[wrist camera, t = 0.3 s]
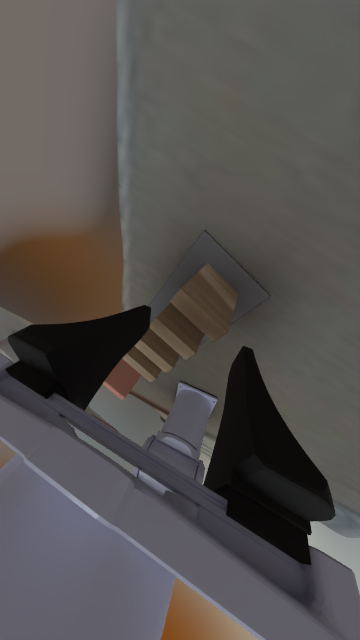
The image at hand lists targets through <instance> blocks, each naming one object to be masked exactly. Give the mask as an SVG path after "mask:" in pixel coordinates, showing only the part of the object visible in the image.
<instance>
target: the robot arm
mask: <svg viewBox="0 0 360 640" xmlns="http://www.w3.org/2000/svg"><path fill="white" fill-rule="evenodd" d="M150 318H151V307H148V306H146V305H143V306H140V307H137V308H134V309H131V310H128V311H125V312H122V313H118V314H115V315H111V316H108V317H104V318H100V319H95V320H90V321H84V322H76V323H67V324H48V325H47V324H43V325H30V326H28V327H26V328H24V329H22V330H20V331H18V332H16V333H14V334H12V335H10V336H8V342H9V344H10V346H11V348H12V349H13V351H14V352H15V354H16V355H17V357H18V358H19V361H17V362H16V363H14V362H13V361H11V360H10V359H9V358H7V357H5V356H4V355H2V354H1V353H0V440H1V441H3V442H4V443H5V444H6V445H8V446H9V447H10V448H11V449H12V450H14V451H15V452H16V453H17V454H16V455H15V456H14V457H13V458H12V459H11V460H10V461H9V462H8V463H7V464H6V465H5V466H4V467H3V468H2V469H1V470H0V640H161V636H162V632H163V628H164V624H165V620H166V616H167V611H168V607H169V603H170V599H171V594H172V590H173V586H174V582H175V578H176V577H177V578H179V579H180V580H181V581H183V582H184V583H185V584H187V585H188V586H189V587H190V588H192V589H193V590H194V591H196V592H197V593H198V594H200V595H201V596H202V597H204V598H205V599H206V600H208V601H209V602H211V603H212V604H213V605H214V606H216V607H217V608H218V609H220V610H221V611H222V612H224V613H225V614H226V615H227V616H229V617H230V618H231V619H233V620H234V621H235V622H237V623H238V624H240V625H241V626H242V627H243V628H245V629H246V630H247V631H249V632H250V633H251V634H253V635H254V636H255V637H257V638H258V639H259V640H360V595H359V591H358V587H357V583H356V579H355V575H354V573H353V572H352V570H351V569H350V568H348V567H346V566H345V565H343V564H342V563H340V562H338V561H337V560H335V559H333V558H332V557H330V556H328V555H327V554H325V553H324V552H322V551H320V550H318V549H316V548H314V547H312V546H309V545H308V537H307V534H308V535H311V533H312V532H311V525H310V521H327V520H331V519H332V518H333V517H334V516H335V510H334V505H333V501H332V497H331V493H330V489H329V486H328V482H327V480H326V479H325V477H324V476H323V475H322V473H321V472H320V471H319V470H318V468H317V467H316V466H315V464H314V463H313V462H312V461H311V459H310V458H309V457H308V455H307V454H306V453H305V451H304V450H303V449H302V447H301V446H300V444H299V443H298V442H297V440H296V439H295V437H294V436H293V434H292V433H291V431H290V430H289V428H288V427H287V425H286V423H285V422H284V420H283V419H282V417H281V415H280V414H279V412H278V410H277V408H276V407H275V405H274V403H273V401H272V399H271V397H270V395H269V393H268V391H267V388H266V386H265V384H264V381H263V379H262V376H261V374H260V371H259V368H258V365H257V362H256V359H255V356H254V353H253V350H252V349H250V348H248V347H245V346H243V347H242V349H241V350H240V352H239V353H238V355H237V357H236V358H235V360H234V362H233V363H232V366H231V369H230V373H229V377H228V383H227V390H226V398H225V405H224V411H223V415H222V419H221V424H220V428H219V431H218V435H217V439H216V443H215V446H214V450H213V454H212V457H211V461H210V464H209V468H208V471H207V474H206V478H205V481H204V484H203V485H202V482H203V477H204V471H205V467H204V464H203V461H201V460H199V457H200V449H201V445H202V441H203V437H204V433H205V430H206V426H207V422H208V418H209V416H210V414H211V412H212V410H213V408H214V406H215V405H216V403H217V398H216V397H214V396H211V395H209V394H207V393H205V392H202V391H200V390H198V389H196V388H194V387H191V386H189V385H187V384H185V383H183V382H179V384H178V389H177V394H176V399H175V402H174V404H173V407H172V409H171V411H170V413H169V415H168V417H167V420H166V422H165V424H164V426H163V428H162V431H161V432H160V431H158V433H157V435H156V436H155V435H152V436H151V437H149V438H148V439H147V440H146V441H145V443H144V445H143V446H142V447H141V446H139V445H138V444H136V443H135V442H133V441H131V440H130V439H128V438H127V437H125V436H123V435H122V434H120V433H119V432H117V431H115V430H114V429H112V428H111V427H109V426H107V425H106V424H104V423H103V422H101V421H100V420H98V419H96V418H95V417H93V416H92V415H90V414H88V413H87V412H85V409H86V407H87V406H88V404H89V403H90V401H91V400H92V398H93V397H94V395H95V394H96V392H97V391H98V389H99V388H100V387H101V385H102V384H103V382H104V381H105V380H106V378H107V377H108V376H109V374H110V373H111V372H112V370H113V369H114V368H115V367H116V365H117V364H118V363H119V361H120V360H121V359H122V358H123V357H124V356H125V355H126V354H127V353H128V352H129V351H130V350H131V349H132V348H133V347H134V346H135V345H136V344H137V343H138V342H139V340H140V339H141V338H142V337H143V336H144V335H145V333H146V332H147V331H148V329H149V328H150ZM63 419H64V420H63ZM66 421H67V422H68V423H70V424H71V425H73V426H74V427H76V428H77V429H79V430H80V431H82V432H83V433H85V434H86V435H88V436H89V437H91V438H92V439H94V440H96V441H97V442H98V443H100V444H101V445H103V446H105V447H106V448H107V449H109V450H110V451H112V452H114V453H115V454H117V455H118V456H120V457H121V458H123V459H124V460H126V461H127V462H129V463H130V464H132V465H133V466H134V467H133V471H132V473H130V472H129V471H127V470H126V469H124V468H123V467H122V466H120V465H119V464H118V463H116V462H115V461H113V460H112V459H110V458H109V457H107V456H106V455H104V454H103V453H102V452H100V451H99V450H97V449H96V448H94V447H93V446H91V445H89V444H88V443H86V442H85V441H83V440H81V439H80V438H78V436H77V435H76V433H75V430H74V428H73V427H71V425H69V424H68V423H67V422H66ZM198 461H199V462H198ZM197 465H198V466H197Z"/></svg>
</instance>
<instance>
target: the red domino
mask: <svg viewBox="0 0 360 640" xmlns="http://www.w3.org/2000/svg"><path fill="white" fill-rule="evenodd" d="M140 377H141V374H140V373H139V372H138V371H136V370H135V369H134V368H133V367H132V366H131V365H129V364H128V363H127V362H126V361H125V360H124V359H121V361H120V362H119V363H118V364H117V365H116V367H115V368H114V369H113V370H112V372H111V373H110V374H109V376H108V377H107V378H106V380H105V381H104V382H103V385H104V386H106V387H107V388H108V389H109V390H110V391H112V392H113V393H114V394H116V396H118V397H119V398H120V399H121V400H122V399H124V398H125V397H126V395H127V394H128V393H129V392H130V390H131V389H132V388H133V386H134V385H135V383H136V382H137V381H138V379H139V378H140Z"/></svg>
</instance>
